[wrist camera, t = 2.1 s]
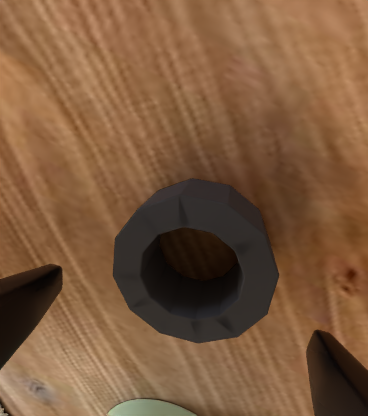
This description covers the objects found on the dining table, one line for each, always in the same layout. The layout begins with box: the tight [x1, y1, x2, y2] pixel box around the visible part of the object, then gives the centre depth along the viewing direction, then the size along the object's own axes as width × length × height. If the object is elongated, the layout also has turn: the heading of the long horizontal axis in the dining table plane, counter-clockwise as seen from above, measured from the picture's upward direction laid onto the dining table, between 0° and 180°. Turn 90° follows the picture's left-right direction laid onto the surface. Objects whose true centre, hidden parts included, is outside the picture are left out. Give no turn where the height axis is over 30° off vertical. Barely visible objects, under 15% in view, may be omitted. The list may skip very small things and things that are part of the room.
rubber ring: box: [113, 179, 279, 343], centre depth 12 cm, size 7×7×3 cm
